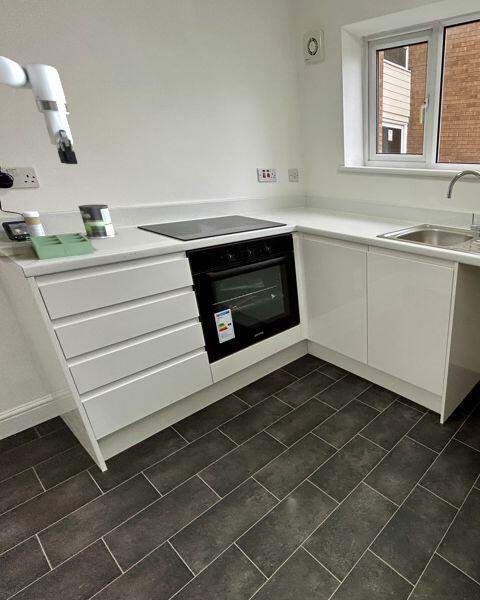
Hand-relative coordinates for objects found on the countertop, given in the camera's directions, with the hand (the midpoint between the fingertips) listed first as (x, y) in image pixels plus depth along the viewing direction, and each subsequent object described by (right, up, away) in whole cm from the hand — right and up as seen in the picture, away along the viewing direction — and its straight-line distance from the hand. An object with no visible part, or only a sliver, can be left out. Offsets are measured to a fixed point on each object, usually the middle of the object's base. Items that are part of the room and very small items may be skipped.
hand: (69, 163), depth 122 cm
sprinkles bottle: (-34, -25, +24) cm, 49 cm away
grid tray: (-18, -28, +16) cm, 37 cm away
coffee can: (-24, -18, +41) cm, 51 cm away
